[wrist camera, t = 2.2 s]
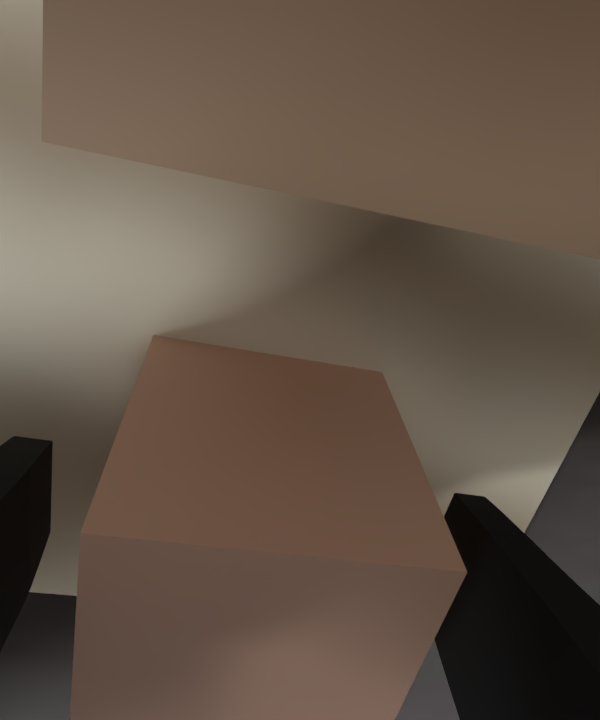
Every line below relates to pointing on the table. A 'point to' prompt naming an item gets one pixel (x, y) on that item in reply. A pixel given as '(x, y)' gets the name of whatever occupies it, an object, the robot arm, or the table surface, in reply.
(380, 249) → the birch board
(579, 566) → the table surface
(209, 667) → the clay block
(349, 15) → the walnut block
